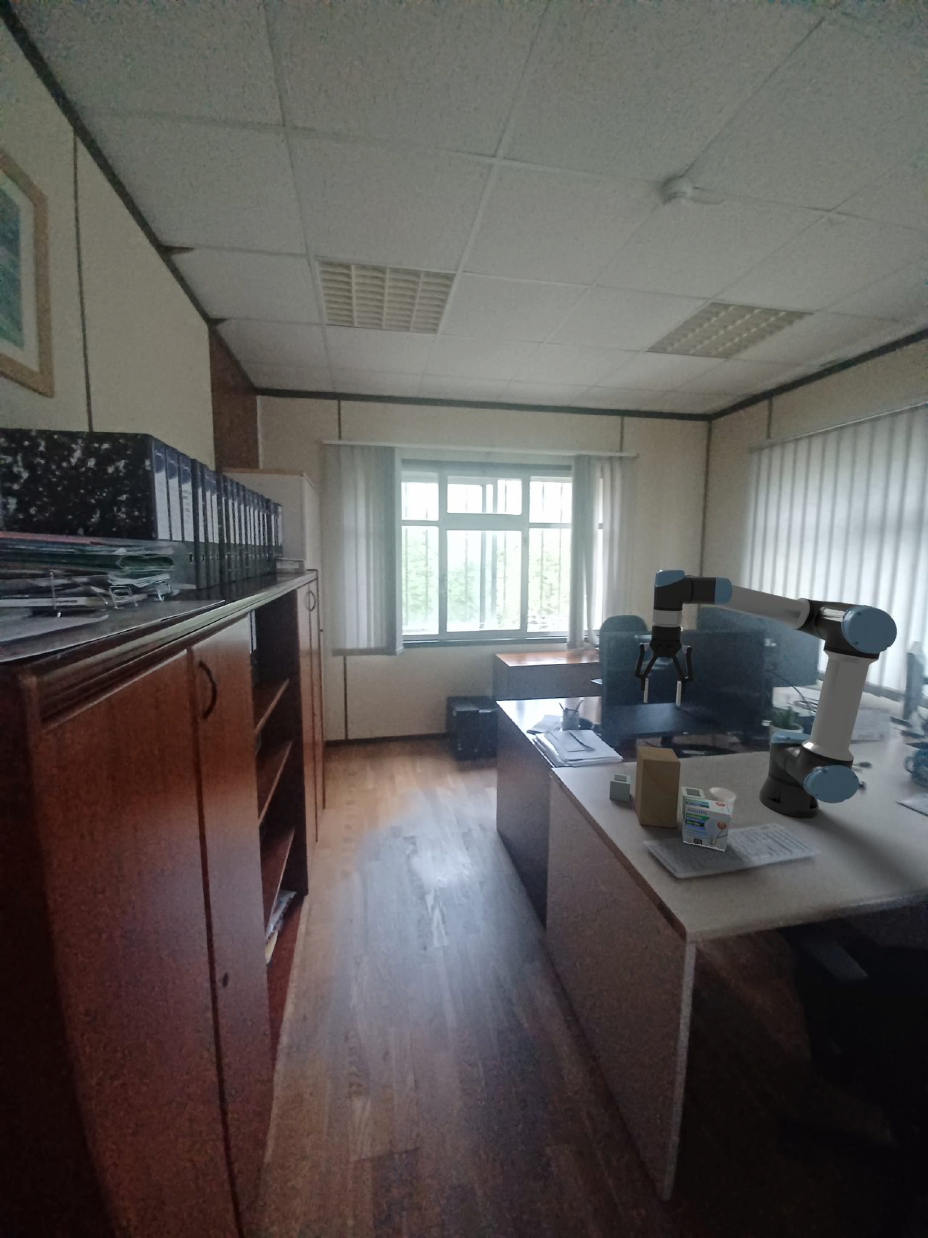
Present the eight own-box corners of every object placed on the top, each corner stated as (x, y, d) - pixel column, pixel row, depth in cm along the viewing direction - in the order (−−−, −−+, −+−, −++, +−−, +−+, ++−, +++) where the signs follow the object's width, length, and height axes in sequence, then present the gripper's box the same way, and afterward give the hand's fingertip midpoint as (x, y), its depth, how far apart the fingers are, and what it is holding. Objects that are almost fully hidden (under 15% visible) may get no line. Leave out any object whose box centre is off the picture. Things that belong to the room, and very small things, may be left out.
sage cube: (700, 807, 143) (702, 788, 142) (704, 818, 137) (705, 798, 136) (679, 804, 145) (681, 785, 144) (681, 814, 139) (683, 794, 138)
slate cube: (629, 793, 151) (630, 775, 151) (629, 802, 146) (630, 783, 145) (610, 789, 153) (610, 772, 152) (609, 798, 148) (610, 780, 147)
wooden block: (676, 829, 131) (681, 762, 128) (639, 825, 133) (643, 759, 130) (668, 810, 141) (672, 748, 138) (633, 806, 143) (637, 745, 140)
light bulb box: (682, 844, 124) (685, 806, 123) (681, 830, 131) (683, 794, 129) (727, 853, 120) (730, 815, 119) (723, 839, 127) (727, 802, 125)
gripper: (705, 624, 129) (699, 703, 132) (627, 621, 136) (623, 695, 139) (710, 628, 122) (703, 711, 125) (627, 624, 129) (623, 703, 132)
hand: (661, 703), depth 132 cm, fingers open, 8 cm apart
